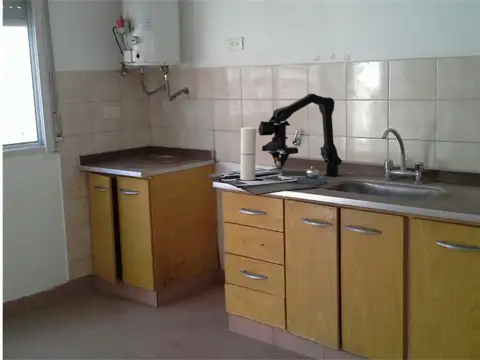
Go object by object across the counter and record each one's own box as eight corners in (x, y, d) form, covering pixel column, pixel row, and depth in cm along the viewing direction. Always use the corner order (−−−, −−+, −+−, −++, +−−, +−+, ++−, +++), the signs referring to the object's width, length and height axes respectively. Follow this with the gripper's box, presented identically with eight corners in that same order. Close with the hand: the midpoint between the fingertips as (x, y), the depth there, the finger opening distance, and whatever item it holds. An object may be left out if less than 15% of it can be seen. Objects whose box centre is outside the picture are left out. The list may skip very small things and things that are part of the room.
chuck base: (309, 180, 279) (309, 174, 278) (326, 183, 272) (326, 176, 272) (296, 183, 271) (297, 176, 271) (314, 185, 265) (314, 179, 264)
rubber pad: (277, 176, 291) (277, 175, 291) (293, 178, 284) (293, 177, 284) (264, 178, 283) (264, 177, 283) (280, 181, 277) (280, 180, 277)
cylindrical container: (238, 179, 280) (238, 128, 275) (243, 177, 286) (244, 127, 282) (252, 180, 277) (252, 128, 273) (257, 178, 284) (257, 127, 279)
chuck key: (281, 168, 286) (281, 156, 285) (285, 169, 284) (285, 156, 283) (273, 169, 282) (273, 157, 281) (277, 170, 280) (278, 158, 279)
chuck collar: (317, 175, 275) (317, 165, 274) (320, 177, 268) (320, 167, 267) (280, 175, 273) (280, 165, 273) (282, 177, 267) (282, 167, 266)
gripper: (254, 134, 280) (254, 166, 283) (284, 137, 268) (284, 170, 271) (269, 133, 288) (268, 164, 291) (299, 135, 276) (298, 168, 279)
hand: (279, 166), depth 283 cm, fingers closed on chuck key, 3 cm apart
